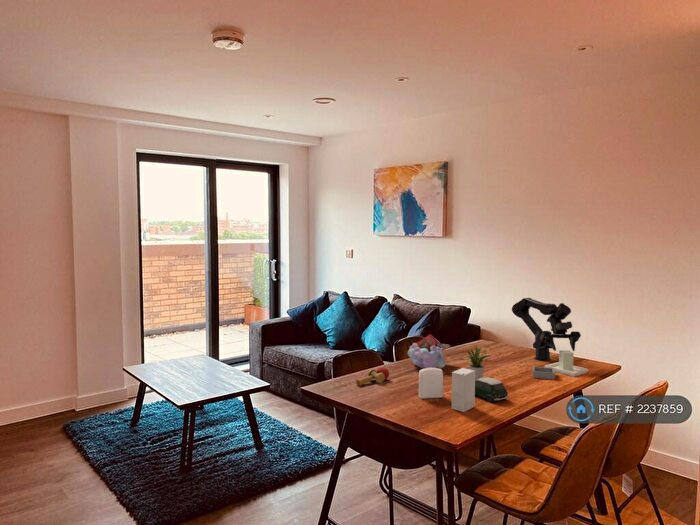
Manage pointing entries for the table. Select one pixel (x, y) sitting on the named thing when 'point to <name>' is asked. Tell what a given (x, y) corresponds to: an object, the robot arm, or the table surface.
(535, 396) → the table surface
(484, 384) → the miniature car
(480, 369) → the house plant
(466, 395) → the skincare box
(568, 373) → the tray
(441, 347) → the lumpy lavender cluster
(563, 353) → the sage block
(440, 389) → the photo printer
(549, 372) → the holder
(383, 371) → the kendama
